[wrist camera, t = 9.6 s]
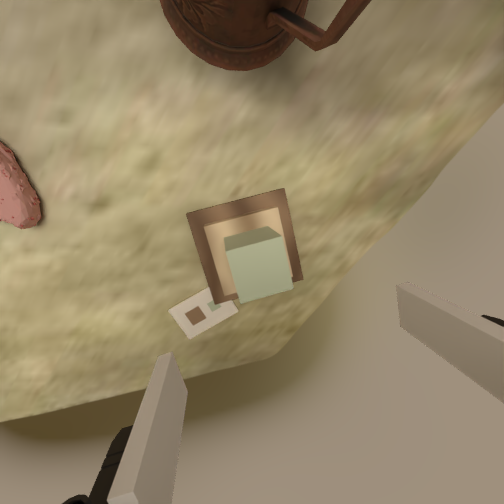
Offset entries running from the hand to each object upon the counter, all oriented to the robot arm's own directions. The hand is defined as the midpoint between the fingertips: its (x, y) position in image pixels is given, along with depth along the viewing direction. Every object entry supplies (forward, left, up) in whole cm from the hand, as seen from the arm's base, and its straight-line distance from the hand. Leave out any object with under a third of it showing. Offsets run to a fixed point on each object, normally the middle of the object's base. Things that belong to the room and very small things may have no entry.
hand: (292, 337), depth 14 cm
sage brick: (0, 0, -21) cm, 21 cm away
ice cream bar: (-27, +17, -25) cm, 41 cm away
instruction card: (-9, -8, -25) cm, 27 cm away
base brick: (0, 0, -25) cm, 25 cm away
